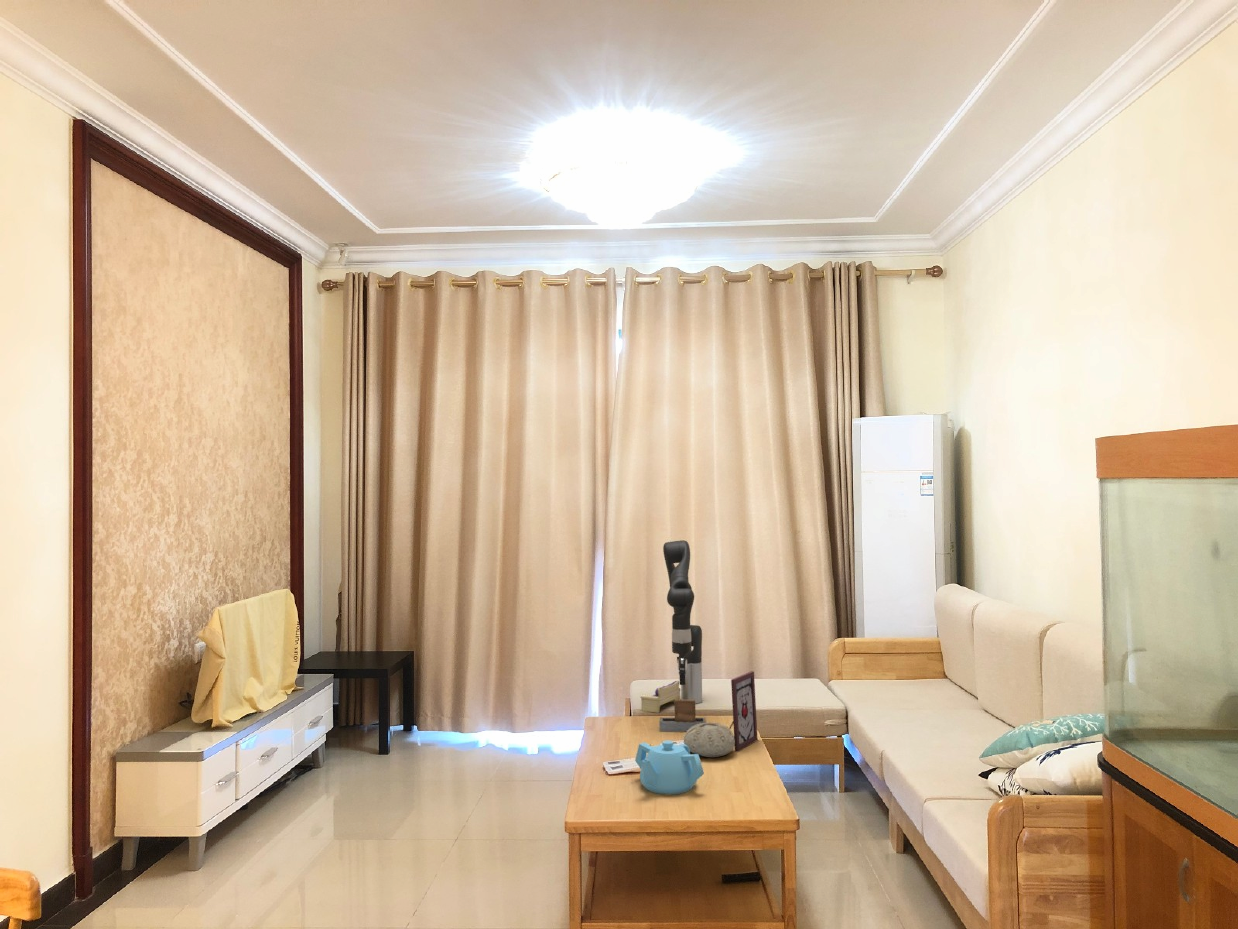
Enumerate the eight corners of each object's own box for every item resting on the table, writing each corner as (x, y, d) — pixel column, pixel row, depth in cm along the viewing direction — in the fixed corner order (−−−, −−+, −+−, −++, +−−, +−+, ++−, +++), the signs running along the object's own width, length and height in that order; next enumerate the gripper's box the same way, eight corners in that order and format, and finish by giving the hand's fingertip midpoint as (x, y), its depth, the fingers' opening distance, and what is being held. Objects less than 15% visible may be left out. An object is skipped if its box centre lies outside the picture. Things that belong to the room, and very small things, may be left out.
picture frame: (737, 751, 297) (736, 680, 298) (712, 747, 302) (711, 677, 303) (757, 740, 310) (756, 671, 311) (733, 736, 316) (732, 669, 317)
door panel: (674, 725, 328) (674, 699, 329) (695, 725, 328) (695, 699, 328) (674, 727, 325) (674, 701, 326) (695, 727, 325) (695, 701, 325)
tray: (659, 726, 331) (659, 717, 331) (706, 726, 329) (705, 717, 330) (659, 731, 324) (659, 722, 324) (706, 731, 322) (706, 722, 323)
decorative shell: (705, 765, 283) (704, 735, 283) (673, 752, 298) (672, 723, 298) (745, 755, 293) (744, 726, 293) (712, 743, 307) (711, 715, 308)
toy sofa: (663, 701, 373) (663, 677, 373) (681, 703, 369) (680, 679, 369) (640, 711, 355) (639, 687, 356) (658, 714, 351) (657, 689, 351)
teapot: (637, 777, 272) (636, 733, 272) (696, 775, 273) (695, 732, 273) (642, 798, 252) (641, 752, 253) (705, 796, 253) (705, 750, 254)
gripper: (672, 637, 335) (672, 678, 335) (671, 643, 321) (672, 686, 320) (691, 637, 335) (691, 678, 334) (691, 643, 320) (692, 686, 320)
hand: (682, 682), depth 327 cm, fingers open, 8 cm apart
